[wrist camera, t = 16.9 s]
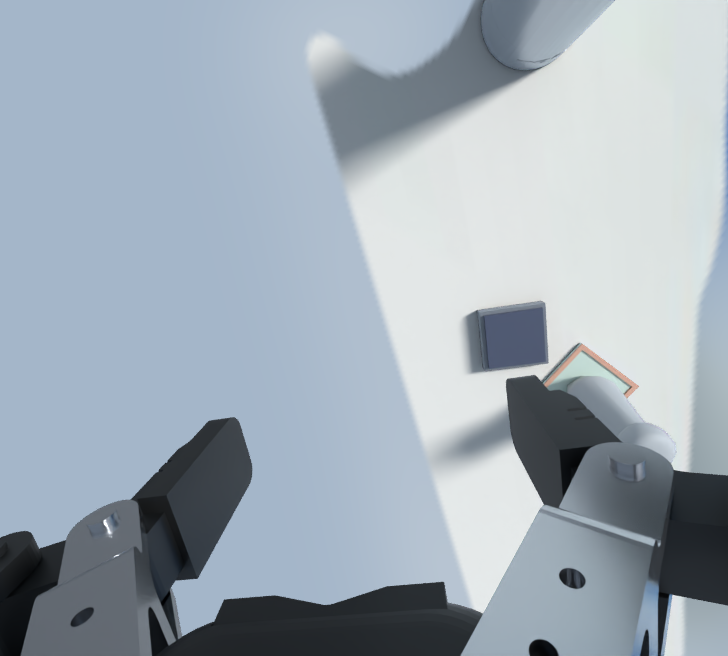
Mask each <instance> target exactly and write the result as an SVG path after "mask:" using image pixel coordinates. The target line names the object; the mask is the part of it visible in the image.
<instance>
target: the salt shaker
mask: <svg viewBox="0 0 728 656" xmlns="http://www.w3.org/2000/svg"><path fill="white" fill-rule="evenodd" d="M567 393H568V394H571V395H573V396H575V397H577V398H578V399H579V400H580V401H581V402H582V403H583V404H584V405H585V406H586V408H587V409H589V410H590V411H591V412H592V413H593V414H594V415H595V418H598V419H599V420H600V421H601V422H602V423H603V424H604V425H605V426H606V427H607V428H608V429H609V430H610V431H611V432H612V433H613V434H614V435H615V436H616V437H617V438H619V439H620V440H621V441H622V442H623V443H630V444H635V445H640V446H643V447H646V448H649V449H651V450H653V451H655V452H657V453H659V454H661V455H662V456H663V457H665V458H666V459H667V460H668V461H669V462H670V463H672V461H673V459H674V457H675V455H676V444H675V442H674V441H673V440H672V438H671V437H670V436H669V434H668V433H667V432H666V431H665V430H663V429H662V428H660V427H658V426H656V425H653V424H651V423H646V422H645V421H644V420H643V418H642V417H641V416H640V415H639V413H638V412H637V411H636V409H635V408H634V407H633V406H632V404H631V403H630V402H629V400H628V399H627V398H626V397H625V395H624V394H623V393H622V392H621V390H620V389H619V388H618V386H617V385H616V384H615V383H614V382H613V381H610V380H608V379H606V378H603V377H601V376H580V377H579V378H577V379H576V380H574V381H573V382H571V383H570V384H568V385H567Z"/></svg>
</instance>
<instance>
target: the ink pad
mask: <svg viewBox="0 0 728 656" xmlns="http://www.w3.org/2000/svg"><path fill="white" fill-rule="evenodd" d="M477 312H478V322H479V332H480V342H481V353H482V363H483V368H484V370H485V371H492V370H500V369H507V368H515V367H523V366H531V365H539V364H547V363H548V345H547V326H546V308H545V303H544V302H542V301H537V302H530V303H523V304H516V305H510V306H503V307H496V308H489V309H482V310H477Z"/></svg>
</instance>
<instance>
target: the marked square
mask: <svg viewBox="0 0 728 656" xmlns="http://www.w3.org/2000/svg"><path fill="white" fill-rule="evenodd" d="M580 376H601V377H603V378H606V379H608V380H610V381H613V382H614V383H615V384H616V385H617V386H618V388H619V389H620V390H621V392H622V393H623V394H624V395H625V397H626V398H628V397H629V396H630V395H631V394H632V393H633V392H634V391H635V390H636V389H637V388H638V387H639V386H638V385H637V384H635V383H634V382H633V381H631V380H630V379H629V378H627V377H626V376H625V375H623V374H622V373H621V372H619V371H618V370H617V369H615V368H614V367H613V366H611V365H610V364H609V363H607V362H606V361H605V360H603V359H602V358H601V357H599V356H598V355H597V354H595V353H594V352H593V351H591V350H590V349H589V348H587V347H586V346H585V345H583V344H582V343H580V344H579V345H578V346H577V347H576V348H575V349H574V350H573V351H572V352H571V353H570V354H569V355H568V356H567V357H566V358H565V360H564V361H563V362H562V363H561V364H560V365H559V366H558V367H557V368H556V369H555V370H554V371H553V372H552V373H551V374H550V375H549V377H548V378H547V379H546V380H545V381H544V382H543V384H544V385H545V386H546V387H547V389H548V390H549V391H552V390H562V391H564V392H566V393H567V385H568V384H570V383H571V382H573V381H574V380H576V379H577V378H579V377H580Z"/></svg>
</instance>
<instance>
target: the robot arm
mask: <svg viewBox="0 0 728 656" xmlns="http://www.w3.org/2000/svg"><path fill="white" fill-rule="evenodd" d="M614 1H615V0H484V3H483V6H482V14H481V27H482V33H483V37H484V41H485V43H486V45H487V47H488V49H489V51H490V52H491V53H492V55H493V56H494V57H495V58H496V59H497V60H498V61H500V62H501V63H502V64H504V65H505V66H508V67H510V68H513V69H518V70H532V69H537V68H540V67H543V66H545V65H547V64H549V63H550V62H552V61H554V60H555V59H556V58H558V57H559V56H560V55H561V54H562V53H563V52H564V51H565V50H566V49H567V48H568V47H569V46H570V45H571V44H572V43H573V42H574V41H575V40H576V39H577V38H578V37H579V36H580V35H581V34H582V33H583V32H584V31H585V30H586V29H587V28H588V27H589V26H590V25H591V24H592V23H593V22H594V21H595V20H596V19H597V18H598V17H599V16H600V15H601V14H602V13H603V12H604V11H605V10H606V9H607V8H608V7H609V6H610V5H611V4H612V3H613V2H614ZM506 391H507V400H508V410H509V419H510V428H511V435H512V439H513V443H514V446H515V449H516V452H517V454H518V456H519V458H520V460H521V461H522V463H523V465H524V467H525V469H526V471H527V473H528V475H529V477H530V479H531V481H532V483H533V484H534V486H535V488H536V490H537V492H538V494H539V496H540V498H541V500H542V502H543V504H544V505H543V506H542V507H541V508H540V510H539V512H538V513H537V515H536V517H535V519H534V521H533V523H532V525H531V526H530V528H529V530H528V532H527V534H526V536H525V538H524V539H523V541H522V543H521V545H520V547H519V549H518V550H517V552H516V554H515V556H514V558H513V560H512V562H511V563H510V565H509V567H508V569H507V571H506V573H505V574H504V576H503V578H502V580H501V582H500V584H499V586H498V587H497V589H496V591H495V593H494V595H493V597H492V598H491V600H490V602H489V604H488V606H487V608H486V610H485V611H484V613H480V612H478V611H476V610H474V609H470V608H467V607H464V606H461V605H456V604H451V603H448V602H447V596H446V591H445V585H444V582H436V583H423V584H411V585H399V586H387V587H384V588H381V589H378V590H375V591H372V592H369V593H365V594H362V595H359V596H356V597H353V598H350V599H347V600H344V601H341V602H338V603H335V604H331V605H321V604H316V603H311V602H306V601H301V600H295V599H290V598H285V597H280V596H263V597H251V598H239V599H227V600H224V601H223V603H222V606H221V608H220V610H219V613H218V614H217V617H216V619H215V621H214V622H212V623H209V624H206V625H204V626H202V627H200V628H197V629H195V630H194V631H192V632H190V633H188V634H186V635H184V636H183V637H182V633H181V627H180V622H179V617H178V611H177V605H176V600H175V596H174V594H173V591H172V589H171V587H172V585H173V583H174V582H175V580H186V579H197V578H198V577H199V575H200V573H201V571H202V570H203V568H204V566H205V564H206V562H207V561H208V559H209V557H210V555H211V553H212V551H213V549H214V547H215V546H216V544H217V542H218V540H219V539H220V537H221V535H222V533H223V531H224V530H225V528H226V526H227V524H228V522H229V520H230V519H231V517H232V515H233V513H234V511H235V509H236V508H237V506H238V504H239V502H240V501H241V499H242V497H243V495H244V493H245V491H246V490H247V488H248V486H249V484H250V482H251V478H252V463H251V459H250V456H249V452H248V449H247V446H246V443H245V439H244V436H243V433H242V429H241V426H240V423H239V421H238V420H237V419H236V418H234V417H233V418H225V419H218V420H211V421H208V422H207V423H206V424H205V426H204V427H203V428H202V429H201V430H200V431H199V432H198V433H197V434H196V435H195V436H194V438H193V439H192V440H191V441H190V442H188V443H187V444H185V445H184V446H182V447H181V448H179V449H178V450H177V451H176V452H175V453H174V454H173V455H172V456H171V458H170V459H169V460H168V462H167V463H165V464H164V465H163V466H162V467H161V468H160V469H159V472H157V473H155V474H154V475H153V477H152V478H151V479H150V480H149V481H148V482H147V483H146V484H145V485H144V486H143V487H142V488H141V489H140V490H139V492H137V493H136V495H135V496H134V497H133V498H132V499H131V500H122V501H117V502H114V503H111V504H108V505H106V506H103V507H102V508H99V509H97V510H96V511H94V512H92V513H91V514H89V515H88V516H86V517H85V518H83V519H82V520H81V521H80V522H78V523H77V524H76V525H75V526H74V527H73V528H72V530H71V531H70V532H69V534H68V536H67V539H66V540H65V541H62V542H59V543H56V544H52V545H49V546H46V547H43V548H40V549H39V547H38V546H37V543H36V541H35V539H34V537H33V535H32V534H31V533H30V532H28V531H21V532H16V533H12V534H9V535H6V536H3V537H1V538H0V656H664V652H665V645H666V637H667V630H668V623H669V615H670V608H671V601H672V595H677V596H682V597H687V598H692V599H698V600H703V601H708V602H713V603H718V604H723V605H728V476H726V475H713V474H701V473H690V472H681V471H676V470H673V467H672V465H671V463H670V462H669V461H668V460H667V459H666V458H665V457H663V456H662V455H661V454H659V453H657V452H655V451H653V450H651V449H649V448H646V447H643V446H640V445H635V444H630V443H623V442H622V441H621V440H620V439H619V438H617V437H616V436H615V435H614V434H613V433H612V432H611V431H610V430H609V429H608V428H607V427H606V426H605V425H604V424H603V423H602V422H601V421H600V420H599V419H598V418H595V415H594V414H593V413H592V412H591V411H590V410H589V409H587V408H586V406H585V405H584V404H583V403H582V402H581V401H580V400H579V399H578V398H577V397H575V396H573V395H571V394H568V393H566V392H564V391H562V390H552V391H549V390H548V389H547V387H546V386H545V385H544V384H543V383H542V382H541V381H540V380H539V379H538V377H537V376H535V375H531V376H524V377H517V378H510V379H507V381H506Z"/></svg>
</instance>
